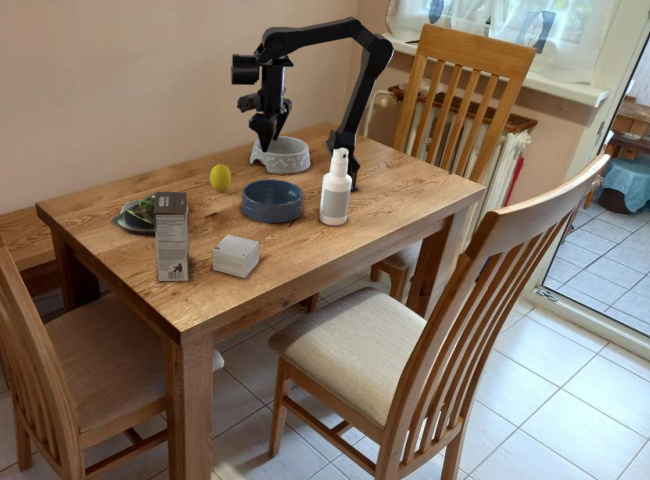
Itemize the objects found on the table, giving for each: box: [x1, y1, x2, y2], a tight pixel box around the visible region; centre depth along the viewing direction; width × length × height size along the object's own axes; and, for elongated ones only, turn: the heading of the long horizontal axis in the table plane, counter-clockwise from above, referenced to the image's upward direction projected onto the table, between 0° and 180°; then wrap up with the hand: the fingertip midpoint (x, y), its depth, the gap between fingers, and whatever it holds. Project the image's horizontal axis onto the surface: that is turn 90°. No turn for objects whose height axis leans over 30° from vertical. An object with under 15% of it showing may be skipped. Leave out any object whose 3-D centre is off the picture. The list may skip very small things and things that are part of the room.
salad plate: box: [109, 192, 189, 237], centre depth 141 cm, size 19×18×5 cm
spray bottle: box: [318, 148, 352, 226], centre depth 139 cm, size 7×7×18 cm
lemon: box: [209, 163, 232, 193], centre depth 153 cm, size 6×6×8 cm
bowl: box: [241, 178, 304, 224], centre depth 146 cm, size 15×15×5 cm
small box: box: [211, 234, 260, 279], centre depth 124 cm, size 8×8×5 cm
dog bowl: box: [249, 135, 311, 175], centre depth 172 cm, size 17×18×5 cm
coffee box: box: [154, 191, 190, 282], centre depth 119 cm, size 9×6×16 cm
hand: (269, 146), depth 151 cm, fingers open, 9 cm apart
